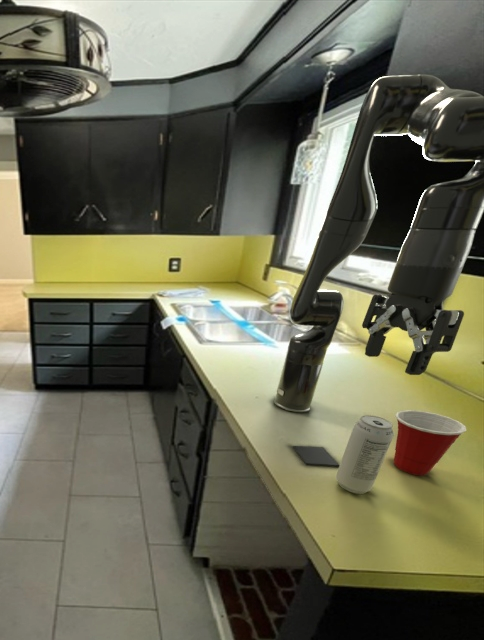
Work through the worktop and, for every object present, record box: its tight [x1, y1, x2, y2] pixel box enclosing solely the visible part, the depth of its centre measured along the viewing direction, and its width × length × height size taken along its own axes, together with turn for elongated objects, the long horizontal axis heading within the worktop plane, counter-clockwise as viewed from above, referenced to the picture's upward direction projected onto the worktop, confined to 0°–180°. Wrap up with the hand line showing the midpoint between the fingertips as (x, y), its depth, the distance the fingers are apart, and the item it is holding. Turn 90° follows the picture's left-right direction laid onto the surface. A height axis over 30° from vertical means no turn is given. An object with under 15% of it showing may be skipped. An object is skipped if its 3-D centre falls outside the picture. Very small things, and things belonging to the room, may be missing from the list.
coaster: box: [292, 445, 340, 468], centre depth 83 cm, size 7×7×1 cm
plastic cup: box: [393, 409, 467, 476], centre depth 77 cm, size 11×11×12 cm
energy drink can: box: [335, 414, 395, 495], centre depth 71 cm, size 6×6×15 cm
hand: (390, 364), depth 60 cm, fingers open, 8 cm apart
